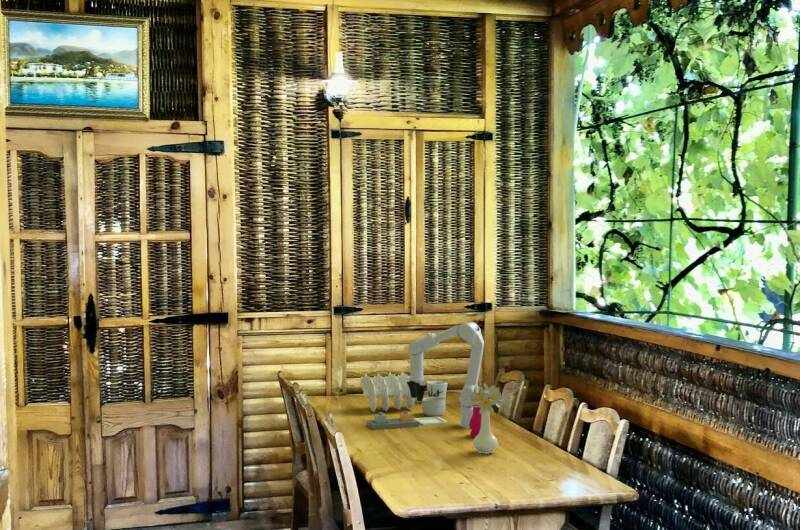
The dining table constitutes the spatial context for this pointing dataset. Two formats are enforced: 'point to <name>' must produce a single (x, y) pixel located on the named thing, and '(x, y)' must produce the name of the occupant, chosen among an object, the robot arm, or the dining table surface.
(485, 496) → the dining table surface
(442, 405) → the teacup
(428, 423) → the tray
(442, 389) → the mug
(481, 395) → the flower vase
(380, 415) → the seated twin plug
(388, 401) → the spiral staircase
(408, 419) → the orange plug
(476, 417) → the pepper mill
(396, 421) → the grey socket board
